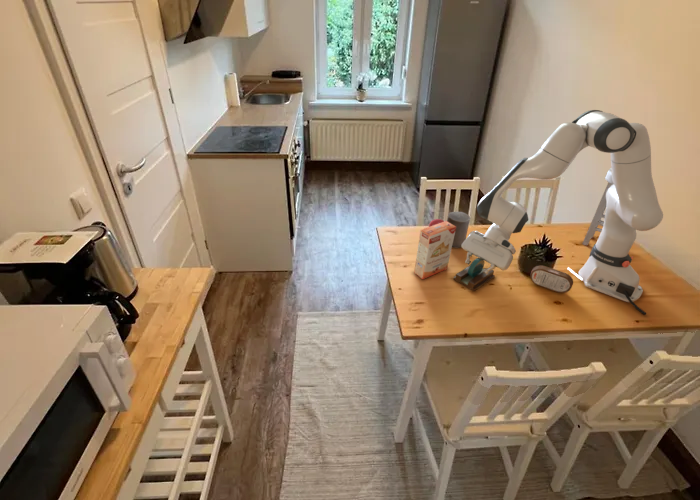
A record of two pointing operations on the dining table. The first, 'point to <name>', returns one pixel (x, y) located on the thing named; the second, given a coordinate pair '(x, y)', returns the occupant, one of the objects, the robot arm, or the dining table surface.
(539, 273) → the tin
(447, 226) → the cracker box
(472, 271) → the disc
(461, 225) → the pillar candle
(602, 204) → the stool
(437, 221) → the lollipop
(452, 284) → the dining table surface
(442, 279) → the dining table surface
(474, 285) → the stand
